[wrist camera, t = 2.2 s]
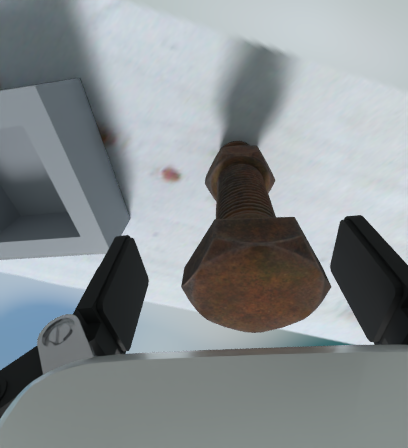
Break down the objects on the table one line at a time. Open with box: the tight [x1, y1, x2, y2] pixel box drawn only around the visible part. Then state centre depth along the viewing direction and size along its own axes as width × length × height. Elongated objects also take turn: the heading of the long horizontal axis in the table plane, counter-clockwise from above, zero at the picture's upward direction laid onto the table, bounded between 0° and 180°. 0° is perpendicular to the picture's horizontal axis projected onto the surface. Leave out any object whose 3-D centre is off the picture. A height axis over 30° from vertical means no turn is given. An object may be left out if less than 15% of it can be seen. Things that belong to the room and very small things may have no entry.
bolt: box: [181, 141, 331, 333], centre depth 15 cm, size 6×5×15 cm
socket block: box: [0, 78, 130, 260], centre depth 21 cm, size 13×13×6 cm
